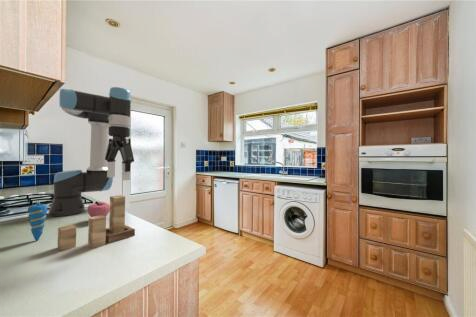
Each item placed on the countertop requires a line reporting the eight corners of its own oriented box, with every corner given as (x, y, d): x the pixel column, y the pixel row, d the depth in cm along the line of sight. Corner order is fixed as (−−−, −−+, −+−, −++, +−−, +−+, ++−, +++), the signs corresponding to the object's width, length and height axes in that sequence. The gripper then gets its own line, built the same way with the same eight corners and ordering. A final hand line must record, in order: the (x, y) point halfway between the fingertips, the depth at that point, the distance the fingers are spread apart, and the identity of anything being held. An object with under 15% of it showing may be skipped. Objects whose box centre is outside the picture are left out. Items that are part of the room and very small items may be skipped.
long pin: (109, 236, 79) (110, 196, 79) (119, 233, 83) (120, 195, 83) (113, 238, 77) (114, 197, 77) (124, 235, 80) (125, 196, 80)
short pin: (57, 247, 69) (57, 227, 69) (72, 243, 72) (72, 224, 72) (61, 250, 67) (61, 230, 67) (75, 246, 70) (76, 226, 70)
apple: (110, 221, 98) (111, 200, 98) (89, 225, 92) (89, 203, 92) (106, 216, 104) (106, 197, 104) (85, 220, 98) (86, 200, 98)
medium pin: (88, 245, 71) (88, 217, 71) (100, 241, 74) (101, 215, 74) (92, 248, 69) (93, 219, 69) (105, 244, 72) (106, 217, 72)
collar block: (98, 236, 79) (98, 230, 79) (123, 230, 86) (123, 224, 86) (108, 243, 73) (109, 236, 73) (134, 235, 81) (134, 229, 81)
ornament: (24, 244, 70) (25, 202, 70) (29, 239, 75) (30, 199, 75) (44, 241, 73) (45, 201, 73) (48, 236, 78) (49, 198, 78)
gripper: (96, 127, 86) (95, 176, 86) (124, 123, 71) (122, 182, 71) (115, 129, 92) (114, 175, 92) (144, 126, 77) (143, 180, 77)
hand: (118, 178), depth 82 cm, fingers open, 13 cm apart
